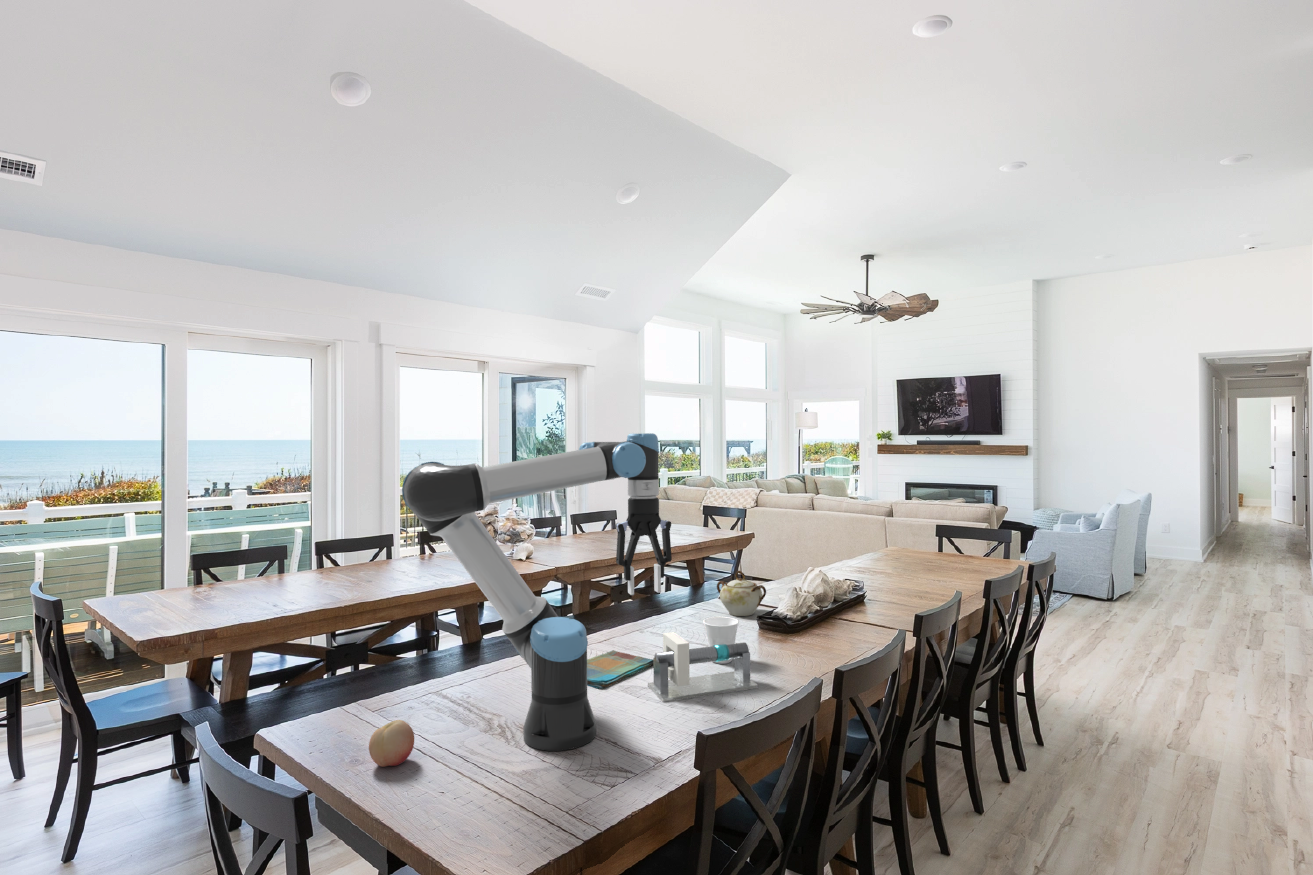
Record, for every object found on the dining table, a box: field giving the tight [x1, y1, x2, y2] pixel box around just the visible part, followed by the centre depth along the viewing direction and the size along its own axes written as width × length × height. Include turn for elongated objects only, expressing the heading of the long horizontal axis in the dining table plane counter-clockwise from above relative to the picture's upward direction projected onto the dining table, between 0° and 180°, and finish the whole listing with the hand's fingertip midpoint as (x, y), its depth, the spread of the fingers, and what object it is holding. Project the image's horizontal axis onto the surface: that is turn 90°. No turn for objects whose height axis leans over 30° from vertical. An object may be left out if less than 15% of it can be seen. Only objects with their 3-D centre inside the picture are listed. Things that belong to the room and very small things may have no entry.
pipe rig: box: [647, 642, 759, 703], centre depth 174 cm, size 25×11×10 cm, turn 110°
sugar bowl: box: [716, 570, 767, 617], centre depth 245 cm, size 20×15×15 cm
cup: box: [702, 616, 740, 665], centre depth 195 cm, size 10×10×11 cm
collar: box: [662, 631, 690, 686], centre depth 172 cm, size 3×10×10 cm, turn 19°
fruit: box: [368, 719, 415, 768], centre depth 135 cm, size 8×8×8 cm
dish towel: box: [587, 649, 653, 690], centre depth 188 cm, size 17×23×2 cm
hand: (644, 592), depth 169 cm, fingers open, 6 cm apart
